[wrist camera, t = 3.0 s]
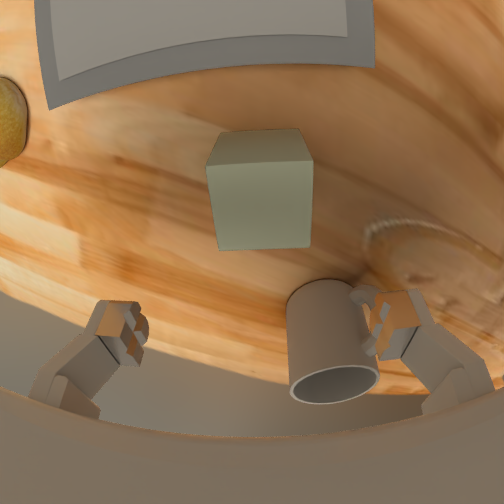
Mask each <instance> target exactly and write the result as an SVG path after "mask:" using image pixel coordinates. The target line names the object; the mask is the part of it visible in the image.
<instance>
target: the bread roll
mask: <svg viewBox="0 0 504 504" xmlns="http://www.w3.org/2000/svg"><path fill="white" fill-rule="evenodd" d="M26 122H27V106H26V103H25V99H24V97H23V95H22V94H21V92H20V90H19V89H18V87H17V86H16V85H15V84H14V83H12V82H11V81H9V80H8V79H5V78H2V77H0V168H1V167H2V166H3V165H4V164H5V163H6V162H7V160H12V159H14V158H16V157H17V156H18V155H19V154H20V153H21V152H22V150H23V148H24V146H25V141H26Z"/></svg>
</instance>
